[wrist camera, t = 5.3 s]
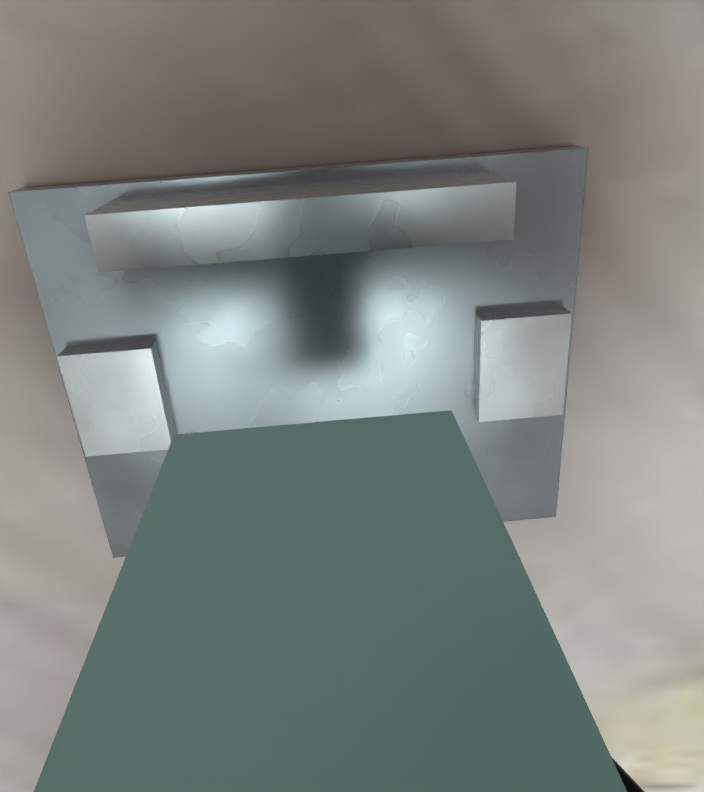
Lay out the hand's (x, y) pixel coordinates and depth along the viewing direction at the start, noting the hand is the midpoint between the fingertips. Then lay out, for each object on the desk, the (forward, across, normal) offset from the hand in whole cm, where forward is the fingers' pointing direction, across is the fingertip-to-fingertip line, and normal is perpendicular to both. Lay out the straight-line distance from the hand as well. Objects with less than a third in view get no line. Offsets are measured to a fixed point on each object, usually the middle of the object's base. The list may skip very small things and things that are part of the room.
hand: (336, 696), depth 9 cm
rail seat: (+11, 0, 0) cm, 11 cm away
